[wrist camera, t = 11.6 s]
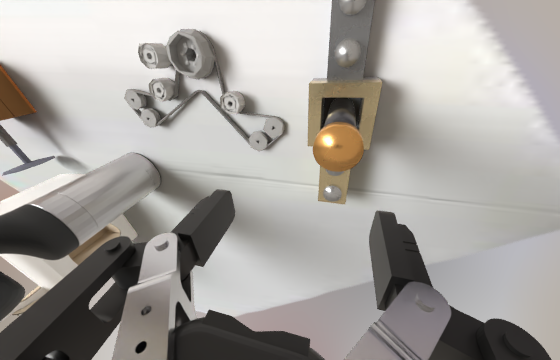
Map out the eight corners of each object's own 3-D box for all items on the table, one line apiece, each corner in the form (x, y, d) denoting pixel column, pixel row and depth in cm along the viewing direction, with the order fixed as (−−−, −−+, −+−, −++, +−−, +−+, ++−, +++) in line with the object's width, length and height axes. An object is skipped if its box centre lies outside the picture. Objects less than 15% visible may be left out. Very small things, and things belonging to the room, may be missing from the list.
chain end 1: (312, 135, 30) (308, 143, 28) (317, -17, 21) (313, -25, 19) (366, 137, 28) (368, 146, 26) (397, -29, 19) (404, -39, 17)
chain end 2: (310, 185, 35) (306, 200, 32) (313, 78, 26) (308, 83, 23) (356, 190, 33) (357, 207, 30) (378, 77, 24) (383, 82, 21)
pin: (325, 123, 29) (312, 169, 18) (327, 93, 27) (313, 125, 16) (355, 124, 28) (359, 173, 17) (359, 93, 26) (368, 127, 15)
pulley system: (116, 19, 30) (140, 120, 38) (83, 13, 26) (117, 127, 34) (297, 44, 26) (282, 151, 34) (291, 41, 22) (275, 162, 30)
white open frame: (61, 172, 55) (-138, 261, 32) (94, 172, 51) (-106, 274, 28) (109, 231, 66) (-14, 327, 44) (139, 235, 62) (21, 343, 40)
